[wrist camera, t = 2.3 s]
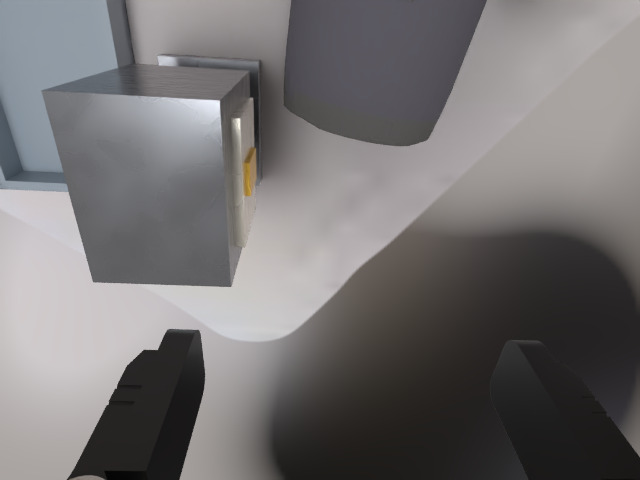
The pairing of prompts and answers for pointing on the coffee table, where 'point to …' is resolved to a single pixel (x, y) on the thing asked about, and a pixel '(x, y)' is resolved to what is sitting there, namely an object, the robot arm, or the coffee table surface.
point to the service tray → (49, 76)
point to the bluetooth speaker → (376, 64)
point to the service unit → (162, 167)
